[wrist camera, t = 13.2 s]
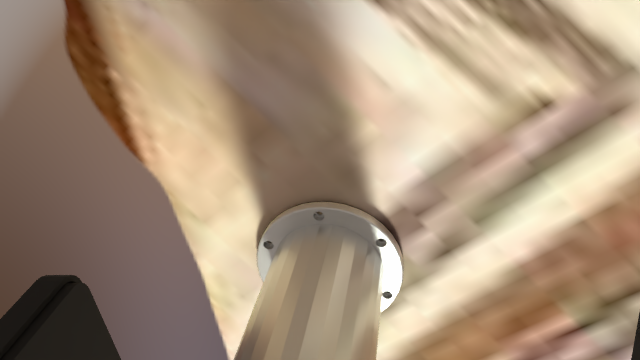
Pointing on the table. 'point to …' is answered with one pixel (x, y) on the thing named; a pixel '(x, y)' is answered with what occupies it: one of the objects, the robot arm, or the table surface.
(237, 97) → the table surface
